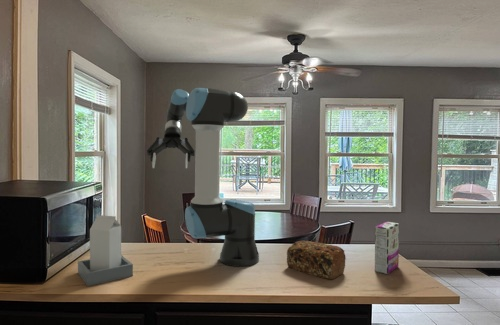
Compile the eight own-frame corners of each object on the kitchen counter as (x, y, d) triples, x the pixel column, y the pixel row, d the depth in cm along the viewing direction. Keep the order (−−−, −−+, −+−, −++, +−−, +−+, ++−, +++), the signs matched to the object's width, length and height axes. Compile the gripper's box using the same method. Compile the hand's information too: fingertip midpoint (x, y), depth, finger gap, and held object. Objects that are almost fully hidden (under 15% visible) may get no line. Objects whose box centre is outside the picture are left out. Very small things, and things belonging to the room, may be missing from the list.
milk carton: (109, 275, 108) (109, 218, 107) (89, 274, 109) (89, 217, 108) (121, 268, 115) (121, 214, 114) (103, 266, 116) (102, 213, 115)
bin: (132, 275, 111) (132, 264, 110) (87, 286, 102) (87, 273, 102) (119, 264, 122) (119, 253, 121) (77, 272, 113) (77, 261, 113)
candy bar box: (385, 263, 125) (386, 221, 125) (398, 266, 122) (400, 223, 121) (373, 271, 117) (374, 225, 117) (387, 275, 114) (389, 228, 113)
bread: (346, 273, 115) (346, 245, 115) (330, 282, 107) (331, 252, 107) (301, 261, 128) (302, 235, 128) (285, 267, 120) (285, 240, 120)
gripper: (200, 138, 157) (199, 172, 143) (146, 137, 154) (140, 171, 139) (200, 126, 152) (199, 160, 138) (144, 125, 148) (138, 159, 134)
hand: (169, 166), depth 138 cm, fingers open, 13 cm apart
